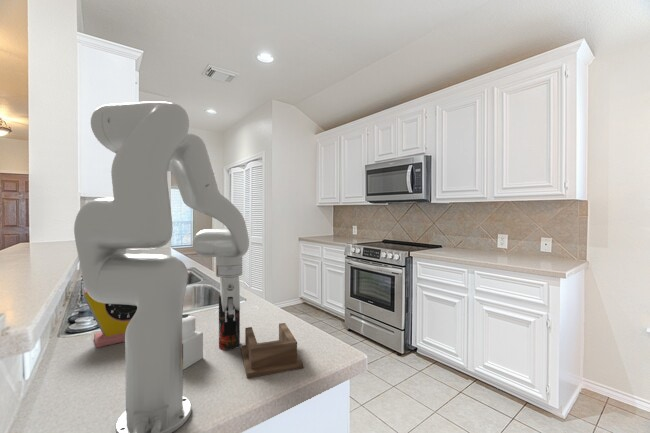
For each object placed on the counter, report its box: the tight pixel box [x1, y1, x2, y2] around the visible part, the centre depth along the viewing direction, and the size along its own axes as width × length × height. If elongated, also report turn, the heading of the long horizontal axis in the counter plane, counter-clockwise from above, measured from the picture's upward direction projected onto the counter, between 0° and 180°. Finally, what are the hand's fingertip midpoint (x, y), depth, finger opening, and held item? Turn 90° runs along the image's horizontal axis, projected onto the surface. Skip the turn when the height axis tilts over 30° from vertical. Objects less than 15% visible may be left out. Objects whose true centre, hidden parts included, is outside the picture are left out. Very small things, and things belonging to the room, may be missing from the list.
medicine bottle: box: [182, 313, 204, 371], centre depth 82 cm, size 7×7×12 cm
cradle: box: [240, 322, 304, 379], centre depth 84 cm, size 16×14×6 cm
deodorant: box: [218, 293, 241, 351], centre depth 91 cm, size 6×6×15 cm
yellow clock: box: [82, 288, 137, 349], centre depth 98 cm, size 22×9×22 cm, turn 130°
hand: (229, 330), depth 91 cm, fingers closed on deodorant, 5 cm apart
